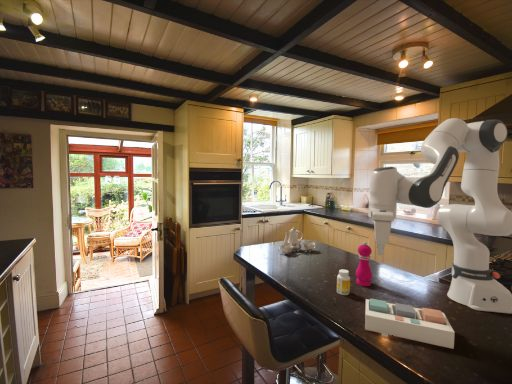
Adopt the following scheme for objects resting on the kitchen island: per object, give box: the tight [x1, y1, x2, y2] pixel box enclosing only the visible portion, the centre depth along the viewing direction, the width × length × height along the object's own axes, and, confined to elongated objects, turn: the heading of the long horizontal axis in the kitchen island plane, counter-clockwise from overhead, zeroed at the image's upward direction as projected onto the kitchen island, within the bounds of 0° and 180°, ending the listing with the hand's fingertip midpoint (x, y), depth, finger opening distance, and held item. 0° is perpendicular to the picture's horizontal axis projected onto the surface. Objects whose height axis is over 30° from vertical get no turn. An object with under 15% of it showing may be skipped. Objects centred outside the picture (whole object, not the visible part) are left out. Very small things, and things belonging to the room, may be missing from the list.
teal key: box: [369, 298, 388, 314], centre depth 91 cm, size 5×5×3 cm
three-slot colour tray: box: [364, 298, 456, 350], centre depth 87 cm, size 24×12×5 cm, turn 67°
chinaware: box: [277, 226, 317, 255], centre depth 175 cm, size 28×17×17 cm, turn 119°
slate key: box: [394, 302, 415, 319], centre depth 87 cm, size 5×5×3 cm
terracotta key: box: [421, 307, 445, 325], centre depth 84 cm, size 5×5×3 cm
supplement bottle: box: [336, 269, 351, 296], centre depth 113 cm, size 5×5×10 cm
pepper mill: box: [355, 241, 373, 287], centre depth 123 cm, size 7×7×20 cm
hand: (379, 251), depth 93 cm, fingers open, 8 cm apart
